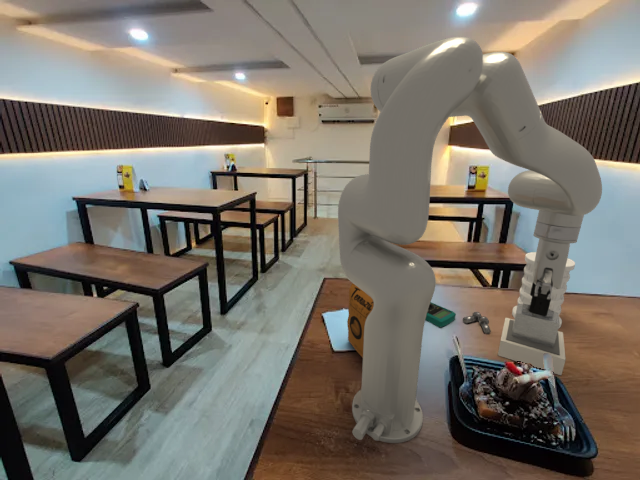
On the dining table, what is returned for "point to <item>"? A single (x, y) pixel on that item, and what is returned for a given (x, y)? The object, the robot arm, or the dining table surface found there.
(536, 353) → the stand
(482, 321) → the bolt
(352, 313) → the coffee package
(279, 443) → the dining table surface
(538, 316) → the housing
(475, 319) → the bolt
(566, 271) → the decorative container
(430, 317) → the digital multimeter
